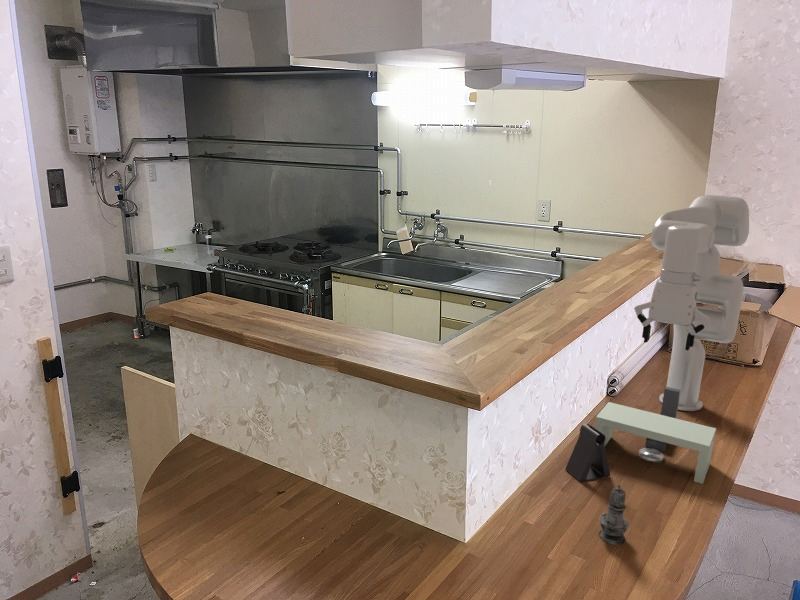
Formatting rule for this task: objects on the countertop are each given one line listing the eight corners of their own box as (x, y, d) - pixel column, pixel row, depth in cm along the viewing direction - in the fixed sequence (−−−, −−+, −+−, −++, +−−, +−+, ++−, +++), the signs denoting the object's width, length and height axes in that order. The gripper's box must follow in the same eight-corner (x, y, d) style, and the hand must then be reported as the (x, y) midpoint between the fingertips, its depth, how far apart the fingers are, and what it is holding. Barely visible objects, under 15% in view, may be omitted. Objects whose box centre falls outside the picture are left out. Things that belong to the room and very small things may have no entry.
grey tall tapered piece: (623, 549, 130) (630, 496, 126) (593, 538, 132) (600, 486, 129) (629, 534, 134) (637, 483, 131) (601, 525, 137) (608, 474, 134)
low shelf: (604, 435, 179) (608, 401, 177) (709, 464, 166) (716, 428, 163) (591, 451, 170) (596, 416, 167) (702, 483, 156) (709, 446, 153)
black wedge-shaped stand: (595, 465, 163) (600, 421, 160) (610, 476, 157) (616, 431, 154) (564, 470, 160) (570, 425, 157) (579, 482, 154) (585, 436, 151)
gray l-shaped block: (658, 424, 188) (664, 386, 185) (676, 429, 185) (682, 390, 182) (645, 446, 174) (651, 405, 171) (664, 451, 171) (671, 410, 168)
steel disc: (641, 449, 173) (642, 445, 172) (665, 456, 169) (665, 452, 169) (636, 458, 168) (636, 454, 167) (660, 465, 165) (661, 461, 164)
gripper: (718, 280, 154) (706, 348, 158) (642, 269, 162) (634, 334, 167) (714, 285, 147) (702, 356, 152) (636, 274, 156) (627, 341, 160)
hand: (666, 345), depth 159 cm, fingers open, 9 cm apart
